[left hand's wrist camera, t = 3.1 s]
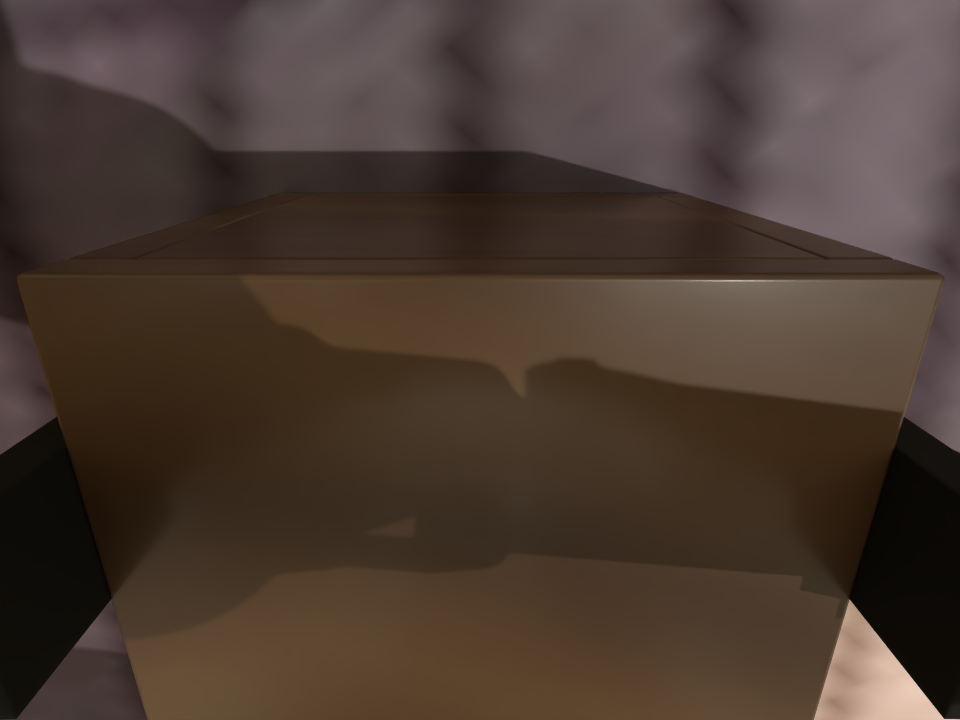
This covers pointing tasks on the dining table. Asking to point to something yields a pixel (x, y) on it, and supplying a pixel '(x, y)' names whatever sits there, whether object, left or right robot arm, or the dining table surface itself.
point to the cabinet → (480, 452)
